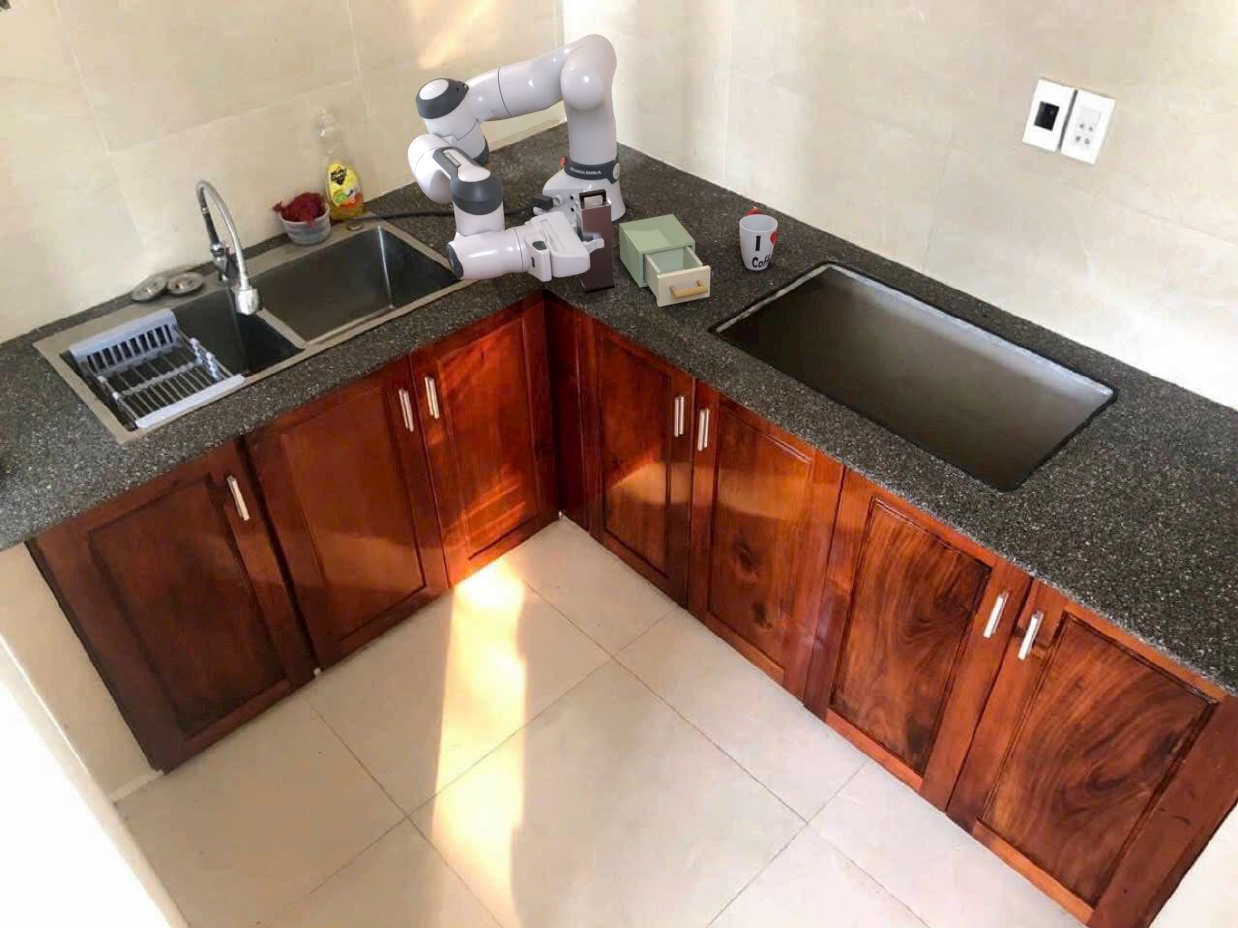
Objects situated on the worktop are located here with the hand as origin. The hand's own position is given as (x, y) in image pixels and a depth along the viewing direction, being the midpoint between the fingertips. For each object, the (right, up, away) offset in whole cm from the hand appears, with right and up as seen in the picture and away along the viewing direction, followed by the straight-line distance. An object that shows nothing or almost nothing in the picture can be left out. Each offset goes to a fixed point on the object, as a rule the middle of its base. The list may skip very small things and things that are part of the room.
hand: (598, 235), depth 198 cm
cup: (+34, -2, +22) cm, 41 cm away
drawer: (+16, -9, +13) cm, 23 cm away
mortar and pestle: (-29, +19, +49) cm, 60 cm away
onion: (+35, +6, +31) cm, 47 cm away
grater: (-1, -9, +7) cm, 11 cm away
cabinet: (+12, -2, +23) cm, 26 cm away
